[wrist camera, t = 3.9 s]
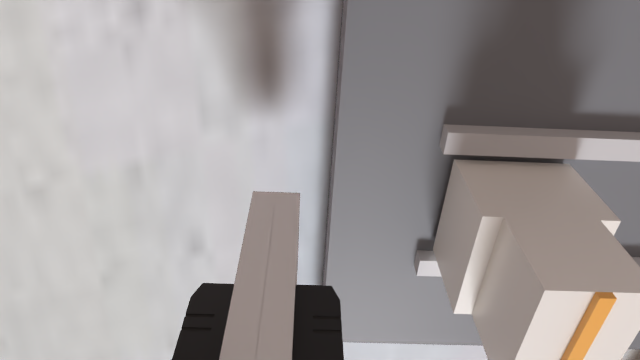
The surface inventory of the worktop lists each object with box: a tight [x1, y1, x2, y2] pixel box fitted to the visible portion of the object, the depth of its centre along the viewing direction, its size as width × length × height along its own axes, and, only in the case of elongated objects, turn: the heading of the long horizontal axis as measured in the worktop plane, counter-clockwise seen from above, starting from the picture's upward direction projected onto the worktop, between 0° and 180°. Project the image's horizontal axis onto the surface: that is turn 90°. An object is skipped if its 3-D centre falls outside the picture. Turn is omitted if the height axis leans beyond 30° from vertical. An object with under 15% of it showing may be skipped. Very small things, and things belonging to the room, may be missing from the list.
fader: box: [433, 159, 640, 360], centre depth 14 cm, size 4×4×6 cm
